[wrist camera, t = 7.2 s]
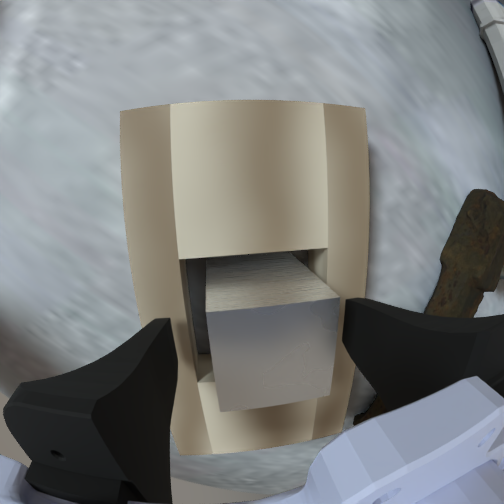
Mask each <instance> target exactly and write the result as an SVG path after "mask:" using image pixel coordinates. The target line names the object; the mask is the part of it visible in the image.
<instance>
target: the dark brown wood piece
mask: <svg viewBox="0 0 504 504" xmlns="http://www.w3.org/2000/svg"><path fill="white" fill-rule="evenodd" d="M440 261H441V264H442V271H441V275H440V279H439V282H438V284H437V286H436V289H435V292H434V294H433V296H432V298H431V300H430V301H429V303H428V306H427V308H426V310H425V312H424V314H428V315H434V316H441V317H455V318H473V317H474V315H475V313H476V312H477V309H478V306H479V304H480V303H481V301H482V299H483V297H484V295H483V293H484V292H494V291H495V289H496V286H497V284H498V282H499V279H500V275H501V271H502V268H503V266H504V201H503V200H502V199H500V198H498V197H497V196H496V194H495V193H493V192H491V191H488V190H483V189H474V190H472V191H471V192H470V194H469V195H468V196H467V198H466V200H465V202H464V204H463V206H462V208H461V210H460V212H459V214H458V216H457V218H456V222H455V224H454V226H453V229H452V231H451V234H450V236H449V238H448V240H447V242H446V244H445V246H444V248H443V250H442V253H441V257H440ZM387 412H388V411H387V409H386V407H385V405H384V403H383V402H382V400H381V398H380V397H379V395H377V397H376V399H375V401H374V403H373V404H372V405H371V407H370V408H369V409H368V411H367V412H366V413H364V414H358V415H356V416H355V418H354V422H353V424H354V426H355V425H358V424H360V423H362V422H364V421H366V420H368V419H370V418H373V417H376V416H379V415H381V414H384V413H387Z"/></svg>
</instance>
